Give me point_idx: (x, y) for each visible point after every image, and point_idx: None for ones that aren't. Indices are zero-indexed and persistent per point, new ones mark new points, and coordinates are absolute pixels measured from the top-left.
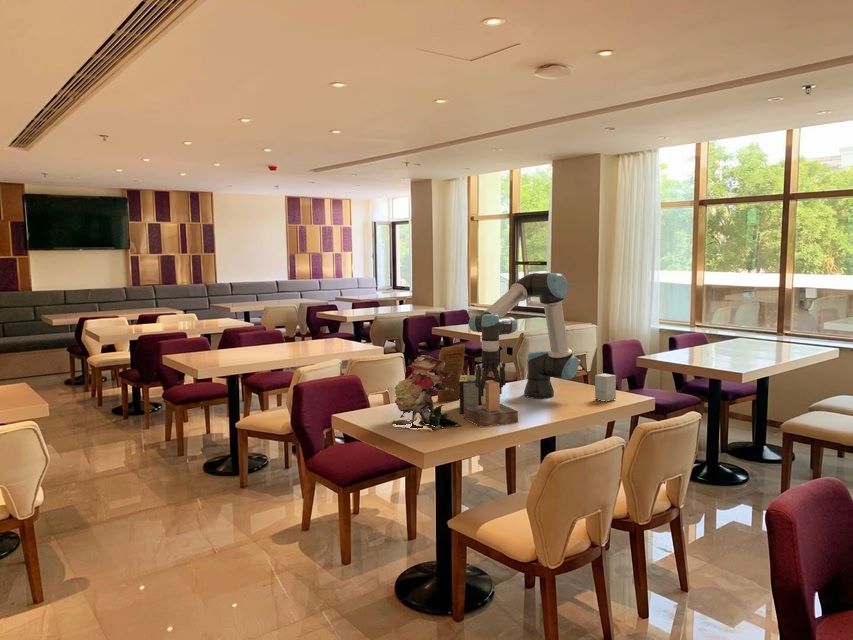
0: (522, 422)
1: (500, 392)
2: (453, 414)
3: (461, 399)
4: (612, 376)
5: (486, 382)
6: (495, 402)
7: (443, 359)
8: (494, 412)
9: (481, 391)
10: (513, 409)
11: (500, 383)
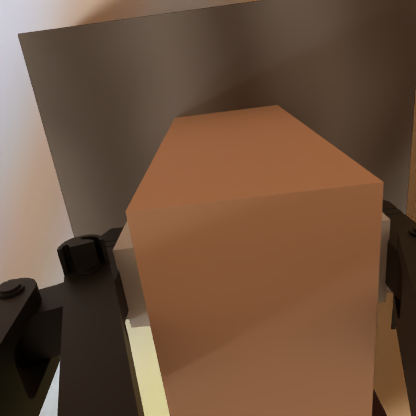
0: (23, 29)
1: (114, 236)
2: (382, 344)
3: (375, 410)
4: None
5: (361, 315)
6: (215, 125)
7: None
8: (249, 45)
9: (403, 221)
10: (44, 106)
11: (81, 293)
